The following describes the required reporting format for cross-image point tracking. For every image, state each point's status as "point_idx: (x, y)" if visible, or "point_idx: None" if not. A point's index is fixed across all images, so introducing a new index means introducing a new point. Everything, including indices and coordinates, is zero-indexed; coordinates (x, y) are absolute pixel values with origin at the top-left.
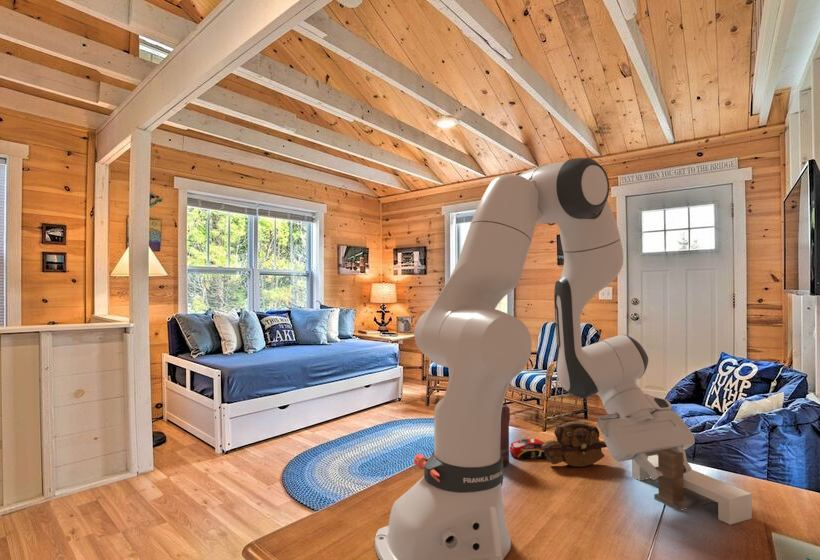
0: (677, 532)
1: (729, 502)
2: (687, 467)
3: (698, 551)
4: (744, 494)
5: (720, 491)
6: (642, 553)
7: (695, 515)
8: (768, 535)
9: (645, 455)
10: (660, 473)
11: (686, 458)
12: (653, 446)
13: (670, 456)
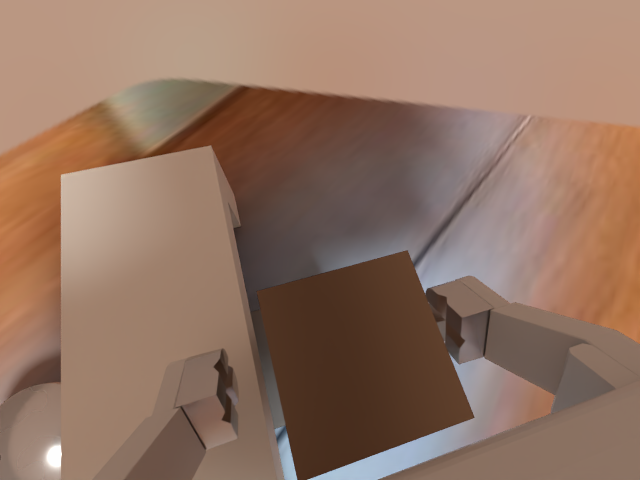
0: (417, 178)
1: (214, 154)
2: (200, 360)
3: (414, 109)
4: (101, 172)
5: (181, 207)
6: (547, 117)
7: (297, 256)
8: (176, 141)
9: (606, 370)
10: (446, 288)
11: (130, 436)
12: (567, 449)
13: (411, 266)
